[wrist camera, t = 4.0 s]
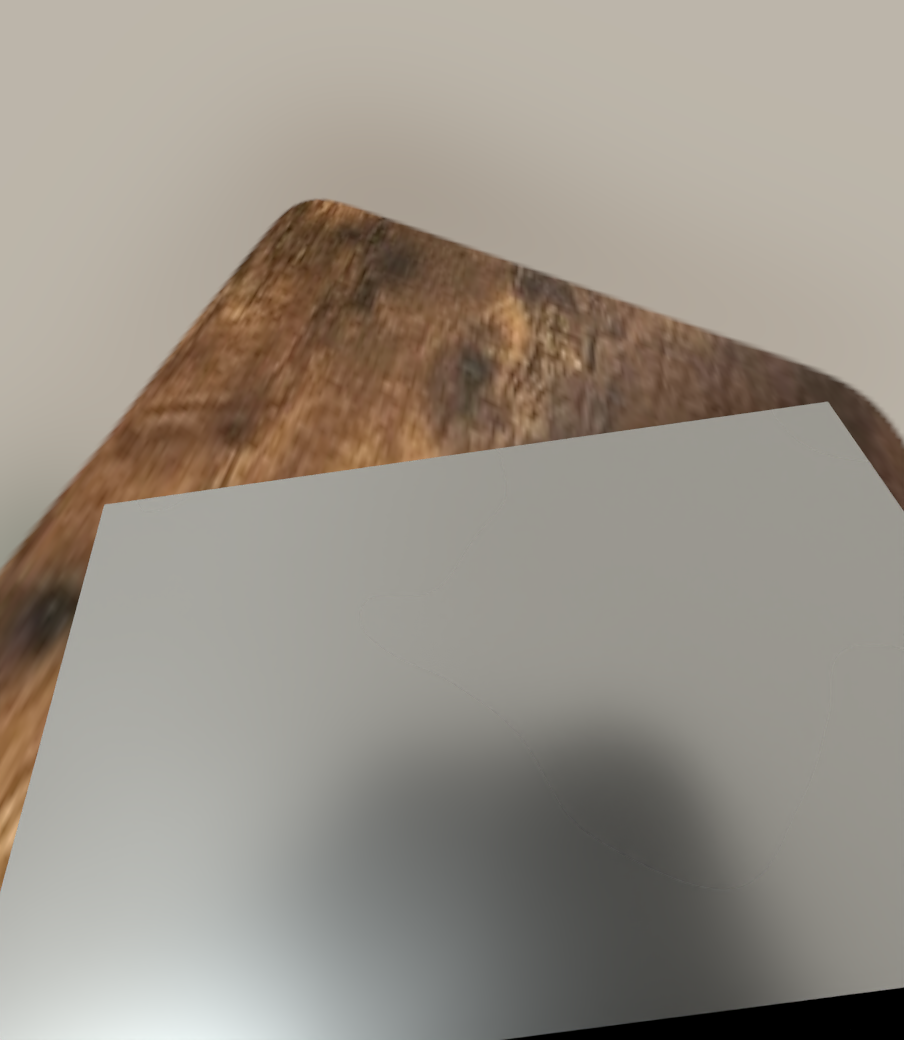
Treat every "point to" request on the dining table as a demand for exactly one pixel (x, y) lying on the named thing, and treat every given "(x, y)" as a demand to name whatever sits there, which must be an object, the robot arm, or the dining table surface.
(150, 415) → the dining table surface
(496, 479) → the brushed steel block
